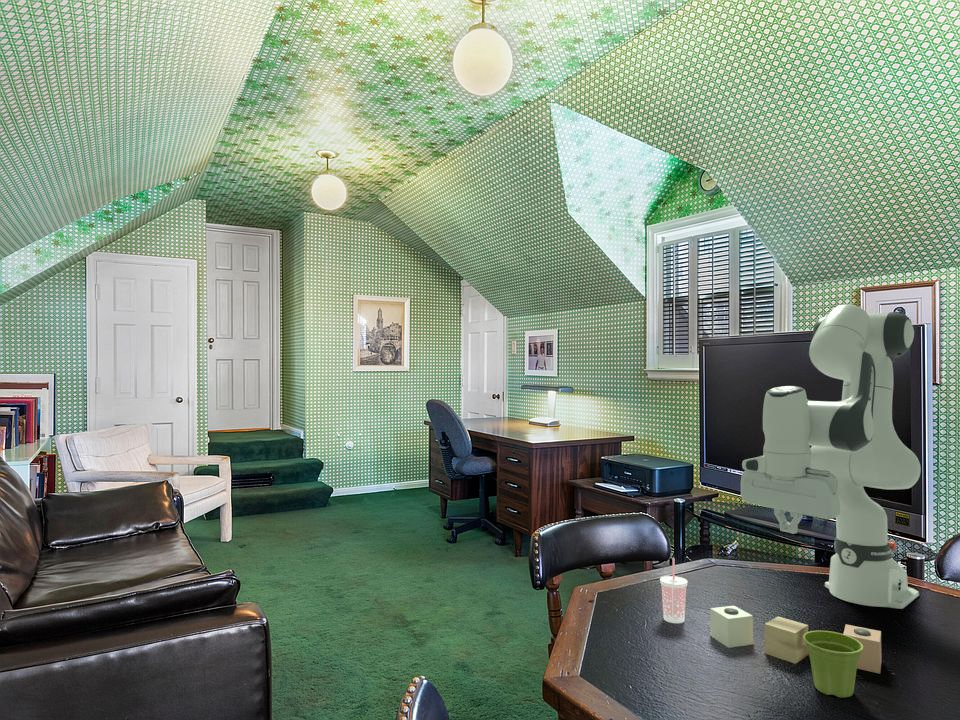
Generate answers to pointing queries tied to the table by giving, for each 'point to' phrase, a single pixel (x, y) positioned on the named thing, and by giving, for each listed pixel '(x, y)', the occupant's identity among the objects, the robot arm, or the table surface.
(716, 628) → the dot block cream
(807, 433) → the robot arm
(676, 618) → the beverage cup
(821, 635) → the plant pot
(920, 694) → the table surface
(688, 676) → the table surface
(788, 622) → the oak block
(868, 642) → the dot block tan
